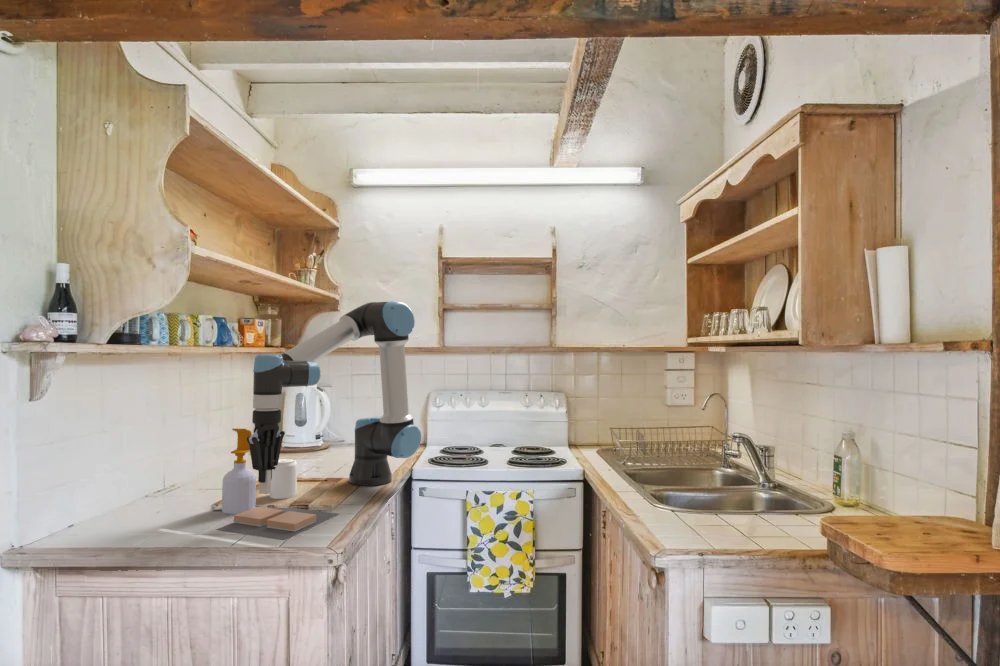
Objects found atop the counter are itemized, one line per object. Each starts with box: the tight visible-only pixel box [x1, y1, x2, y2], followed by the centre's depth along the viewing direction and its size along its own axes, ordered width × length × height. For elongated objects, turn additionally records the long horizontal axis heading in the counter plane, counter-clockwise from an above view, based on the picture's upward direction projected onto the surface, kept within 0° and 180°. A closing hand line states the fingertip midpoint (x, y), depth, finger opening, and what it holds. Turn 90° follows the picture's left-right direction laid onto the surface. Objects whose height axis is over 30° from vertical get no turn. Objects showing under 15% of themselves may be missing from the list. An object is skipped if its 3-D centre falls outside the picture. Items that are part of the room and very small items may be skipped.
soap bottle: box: [221, 428, 257, 515], centre depth 173 cm, size 9×9×25 cm
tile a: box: [267, 511, 316, 532], centre depth 159 cm, size 2×9×9 cm
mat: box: [215, 507, 340, 541], centre depth 162 cm, size 24×22×1 cm
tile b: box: [233, 506, 283, 527], centre depth 162 cm, size 2×9×9 cm
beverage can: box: [269, 457, 298, 500], centre depth 188 cm, size 8×8×12 cm
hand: (264, 493), depth 164 cm, fingers closed
